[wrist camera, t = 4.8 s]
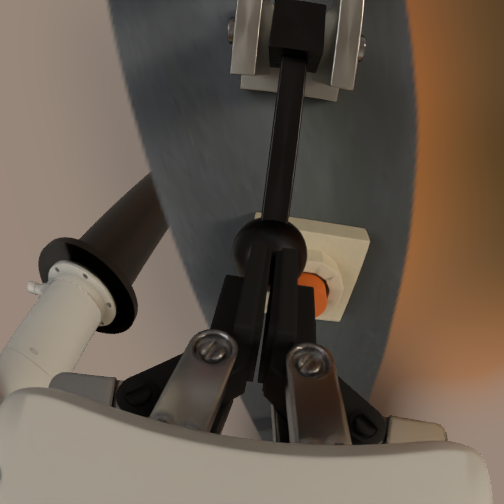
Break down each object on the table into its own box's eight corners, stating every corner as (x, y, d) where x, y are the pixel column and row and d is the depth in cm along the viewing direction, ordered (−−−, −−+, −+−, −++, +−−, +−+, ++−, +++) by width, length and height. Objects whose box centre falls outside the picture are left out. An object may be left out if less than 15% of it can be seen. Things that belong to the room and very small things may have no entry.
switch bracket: (334, 100, 20) (371, 126, 11) (242, 88, 20) (203, 102, 11) (345, 18, 16) (390, -20, 7) (250, 5, 16) (217, -43, 7)
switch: (297, 282, 15) (303, 308, 11) (233, 273, 15) (222, 297, 12) (328, 33, 12) (339, 2, 8) (265, 25, 12) (263, -9, 9)
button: (277, 303, 27) (275, 317, 25) (283, 269, 25) (283, 283, 23) (319, 308, 27) (320, 323, 25) (330, 275, 24) (332, 289, 23)
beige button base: (246, 295, 32) (241, 323, 28) (255, 211, 26) (250, 235, 23) (337, 307, 31) (341, 335, 28) (365, 228, 25) (375, 253, 22)
